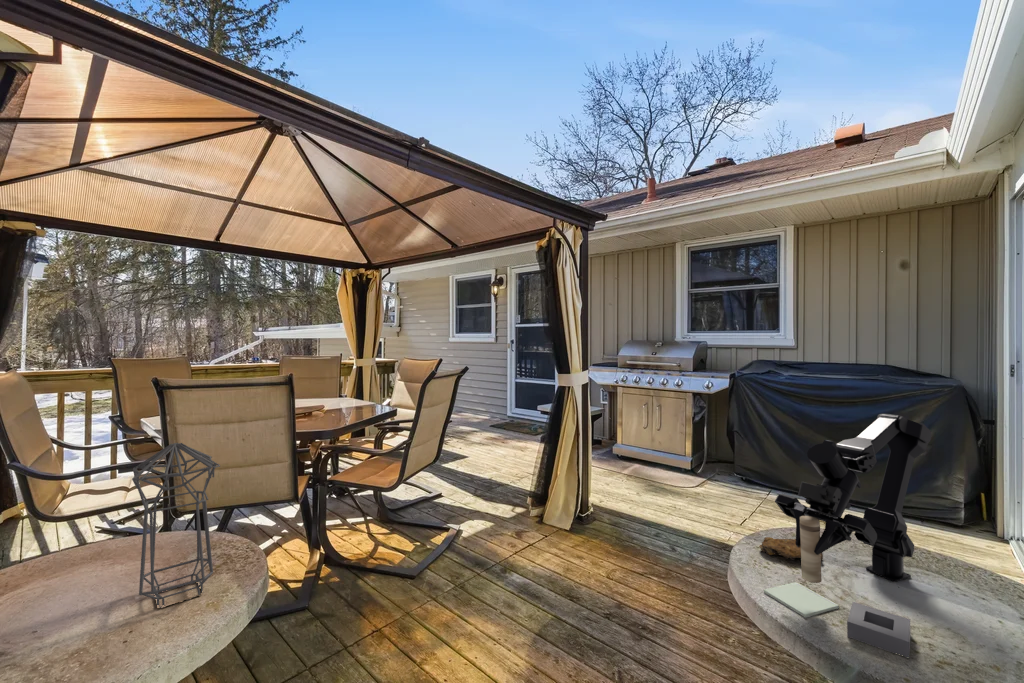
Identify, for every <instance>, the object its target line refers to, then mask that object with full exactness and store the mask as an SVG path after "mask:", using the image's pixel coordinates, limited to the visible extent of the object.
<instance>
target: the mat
mask: <svg viewBox="0 0 1024 683" xmlns="http://www.w3.org/2000/svg"><path fill="white" fill-rule="evenodd" d="M763 593H764V594H765V595H768V596H769V597H770V598H773V599H774V600H776V601H777V602H779V603H781V604H782V605H784V606H786V607H787V608H788V609H791V610H792V611H794V612H795V613H797V614H798V615H801V616H802V617H803V618H809V617H812V616H816V615H820V614H824V613H826V612H830V611H834V610H837V609H840V604H838V603H835V602H833V601H832V600H830V599H828V598H826V597H825V596H823V595H820V594H819V593H817V592H816V591H813V590H811V589H809V588H808V587H807V586H804V585H802V584H800V583H798V582H796V581H795V582H791V583H786V584H782V585H777V586H774V587H769V588H765V589H763Z"/></svg>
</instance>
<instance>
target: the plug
mask: <svg viewBox="0 0 1024 683" xmlns="http://www.w3.org/2000/svg"><path fill="white" fill-rule="evenodd" d="M820 523H821V520H819V519H817V518H815V517H811V516H801V517H800V541H801V559H800V564H801V565H800V568H801V578H802V579H804V581H806V582H808V583H812V584H820V583H822V560H821V553H820V554H819V555H817V554H815V552H814V550H815V547H816V545H817V543H818V541H819V539H820V537H821V524H820Z"/></svg>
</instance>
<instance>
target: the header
mask: <svg viewBox="0 0 1024 683" xmlns="http://www.w3.org/2000/svg"><path fill="white" fill-rule="evenodd" d="M846 622H847V623H846V624H847V626H846V632H847V634H846V635H847V636H846V637H848V638H850V639H852V640H856V641H858V642H861V643H864V642H865V643H864V644H867V645H869V644H870V646H872V647H874V648H878V649H881V650H884V651H886V652H890V653H892V652H893V654H895V653H897V654H900V655H903V656H905V657H904V658H906V657H909V658H910V656H909V654H910V652H911V619H910V618H908V617H904V616H900V615H898V614H894V613H891V612H888V611H884V610H882V609H878V608H874V607H871V606H869V605H866V604H862V603H860V602H856V601H852V603H851V606H850V609H849V613H848V617H847V621H846ZM897 654H896V655H897ZM900 655H899V656H900ZM903 656H902V657H903Z"/></svg>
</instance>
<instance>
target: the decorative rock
mask: <svg viewBox="0 0 1024 683" xmlns="http://www.w3.org/2000/svg"><path fill="white" fill-rule="evenodd" d="M795 543H796V538H794V539H793V538H774V537H771V536H770V537H769V536H768V537H767V536H766V537H764V538H763V541H762V542H761V544H760V545H758V547H759V548H760V551H761V552H764V553H765V552H766V553H765V554H766V555H770V556H772V555H776V556H778V555H779V556H782V557H784V558H785V559H786V558H787V559H790V560H793V559H794V560H795V559H799V558H801V546H800V547H797V546H796V544H795ZM823 558H824V554H823V552H822V553H821V561H823V560H824V559H823ZM822 559H823V560H822Z"/></svg>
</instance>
